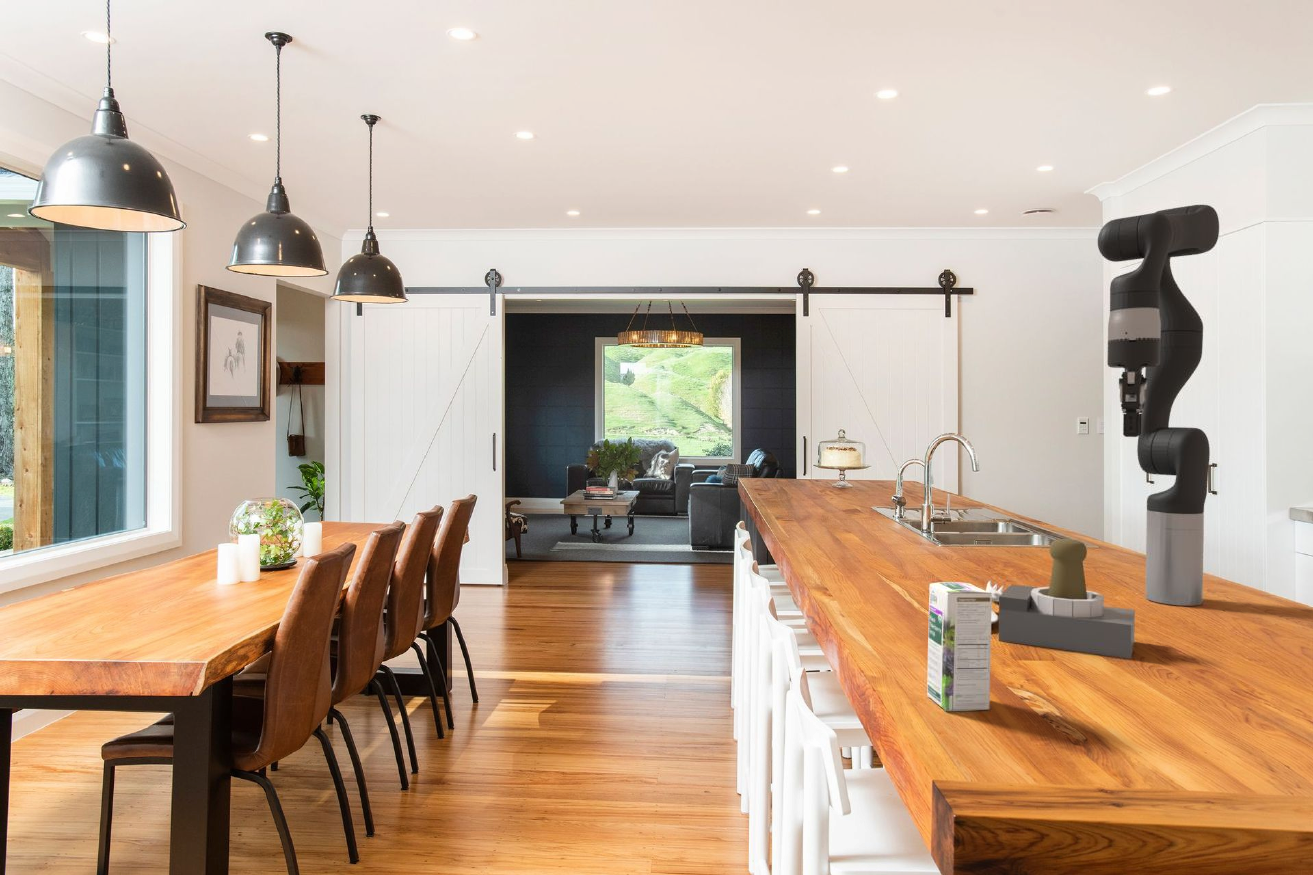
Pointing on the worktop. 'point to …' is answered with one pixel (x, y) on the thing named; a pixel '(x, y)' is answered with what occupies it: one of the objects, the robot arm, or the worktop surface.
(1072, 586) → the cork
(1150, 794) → the worktop surface
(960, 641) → the syrup box
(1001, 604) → the camera body
